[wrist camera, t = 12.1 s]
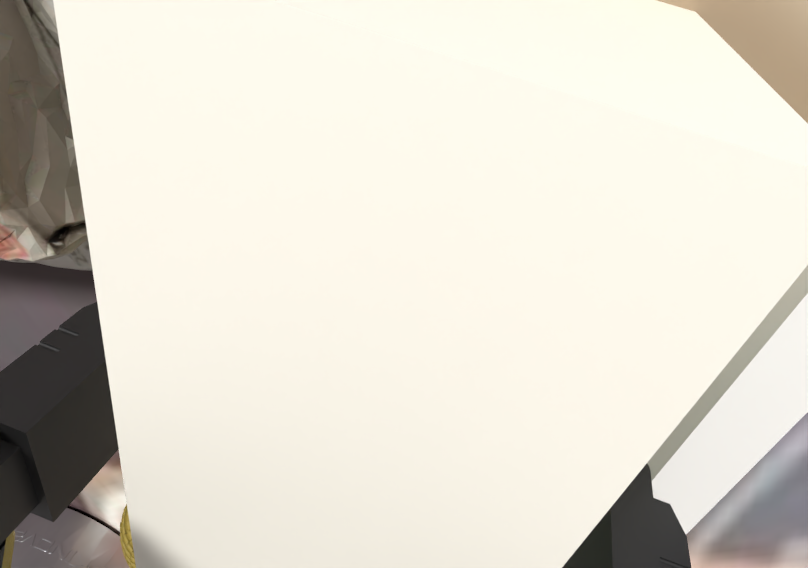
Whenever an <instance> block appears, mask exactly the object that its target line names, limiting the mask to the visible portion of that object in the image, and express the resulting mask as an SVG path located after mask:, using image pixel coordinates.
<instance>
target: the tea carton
mask: <svg viewBox="0 0 808 568" xmlns="http://www.w3.org/2000/svg"><path fill="white" fill-rule="evenodd" d="M53 3H54V10H55V17H56V23H57V30H58V37H59V44H60V51H61V58H62V64H63V71H64V78H65V85H66V92H67V99H68V106H69V112H70V119H71V126H72V133H73V140H74V147H75V153H76V160H77V167H78V174H79V181H80V188H81V194H82V201H83V208H84V215H85V222H86V229H87V236H88V242H89V249H90V256H91V263H92V270H93V277H94V283H95V290H96V297H97V304H98V311H99V318H100V325H101V331H102V338H103V345H104V352H105V359H106V366H107V372H108V379H109V386H110V393H111V400H112V407H113V413H114V420H115V427H116V434H117V441H118V448H119V455H120V461H121V468H122V475H123V482H124V489H125V496H126V502H127V509H128V516H129V523H130V530H131V537H132V543H133V550H134V557H135V564H136V568H562V567H563V566H564V565H565V563H566V562H567V561H568V560H569V558H570V557H571V556H572V555H573V554H574V552H575V551H576V550H577V549H578V547H579V546H580V545H581V544H582V542H583V541H584V540H585V539H586V538H587V536H588V535H589V534H590V533H591V531H592V530H593V529H594V528H595V526H596V525H597V524H598V523H599V522H600V520H601V519H602V518H603V517H604V515H605V514H606V513H607V512H608V510H609V509H610V508H611V507H612V506H613V504H614V503H615V502H616V501H617V499H618V498H619V497H620V496H621V494H622V493H623V492H624V491H625V489H626V488H627V487H628V486H629V485H630V483H631V482H632V481H633V480H634V478H635V477H636V476H637V475H638V473H639V472H640V471H641V470H642V469H643V467H644V466H645V465H646V464H647V462H648V461H649V460H650V459H651V457H652V456H653V455H654V454H655V453H656V451H657V450H658V449H659V448H660V446H661V445H662V444H663V443H664V441H665V440H666V439H667V438H668V437H669V435H670V434H671V433H672V432H673V430H674V429H675V428H676V427H677V425H678V424H679V423H680V422H681V421H682V419H683V418H684V417H685V416H686V414H687V413H688V412H689V411H690V409H691V408H692V407H693V406H694V405H695V403H696V402H697V401H698V400H699V398H700V397H701V396H702V395H703V393H704V392H705V391H706V390H707V388H708V387H709V386H710V385H711V384H712V382H713V381H714V380H715V379H716V377H717V376H718V375H719V374H720V372H721V371H722V370H723V369H724V368H725V366H726V365H727V364H728V363H729V361H730V360H731V359H732V358H733V356H734V355H735V354H736V353H737V352H738V350H739V349H740V348H741V347H742V345H743V344H744V343H745V342H746V340H747V339H748V338H749V337H750V336H751V334H752V333H753V332H754V331H755V329H756V328H757V327H758V326H759V324H760V323H761V322H762V321H763V320H764V318H765V317H766V316H767V315H768V313H769V312H770V311H771V310H772V308H773V307H774V306H775V305H776V304H777V302H778V301H779V300H780V299H781V297H782V296H783V295H784V294H785V292H786V291H787V290H788V289H789V288H790V286H791V285H792V284H793V283H794V281H795V280H796V279H797V278H798V276H799V275H800V274H801V273H802V271H803V270H804V269H805V268H806V267H807V265H808V123H807V122H806V121H805V120H804V119H803V118H802V117H801V116H800V115H799V114H798V113H797V112H796V111H795V110H794V109H793V108H792V107H791V106H790V105H789V104H788V103H787V102H786V101H785V100H784V99H783V98H782V97H781V96H780V95H779V94H778V93H777V92H776V91H775V90H774V89H773V88H772V87H771V86H770V85H769V84H768V83H767V82H766V81H765V80H764V79H763V78H761V77H760V76H759V75H758V74H757V73H756V72H755V71H754V70H753V69H752V68H751V67H750V66H749V65H748V64H747V63H746V62H745V61H744V60H743V59H742V58H741V57H740V56H739V55H738V54H737V53H736V52H735V51H734V50H733V49H732V48H731V47H730V46H729V45H728V44H727V43H726V42H725V41H724V40H723V39H722V38H721V37H720V36H719V35H718V34H717V33H716V32H715V31H714V30H713V29H712V28H711V27H710V26H709V25H708V24H707V23H706V22H705V21H704V20H703V19H702V18H701V17H700V16H699V15H698V14H697V13H696V12H694V11H691V10H688V9H684V8H681V7H677V6H674V5H670V4H667V3H664V2H660V1H657V0H53Z"/></svg>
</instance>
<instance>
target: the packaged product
mask: <svg viewBox="0 0 808 568" xmlns="http://www.w3.org/2000/svg"><path fill="white" fill-rule="evenodd" d="M0 260H3V261H9V262H16V263H40V264H44V265H48V266H52V267H59V268H68V269H77V270H88V271H93V270H92V263H91V256H90V249H89V242H88V236H87V229H86V222H85V215H84V208H83V201H82V194H81V188H80V181H79V174H78V167H77V160H76V153H75V147H74V140H73V133H72V126H71V119H70V112H69V106H68V99H67V92H66V85H65V78H64V71H63V64H62V58H61V51H60V44H59V37H58V30H57V23H56V17H55V10H54V3H53V0H0Z"/></svg>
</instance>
